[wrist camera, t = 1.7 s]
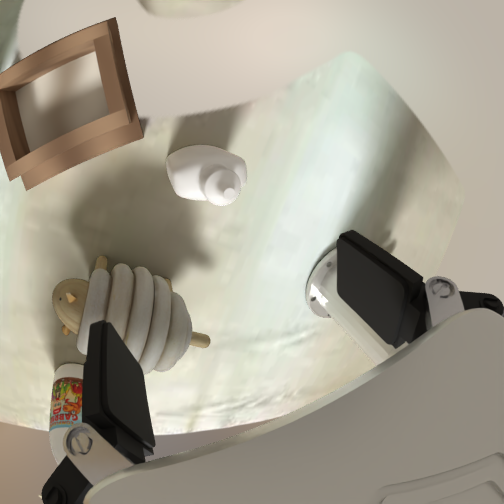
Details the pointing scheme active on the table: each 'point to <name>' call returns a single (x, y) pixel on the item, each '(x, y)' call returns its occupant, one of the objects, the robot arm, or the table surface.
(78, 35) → the walnut socket block
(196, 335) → the toy sheep
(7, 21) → the table surface
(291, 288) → the table surface
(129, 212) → the table surface
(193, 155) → the eye dropper bottle
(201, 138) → the table surface
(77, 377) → the milk bottle
